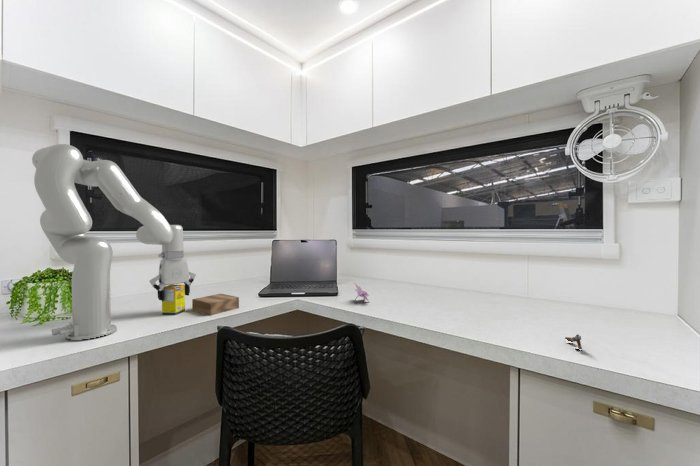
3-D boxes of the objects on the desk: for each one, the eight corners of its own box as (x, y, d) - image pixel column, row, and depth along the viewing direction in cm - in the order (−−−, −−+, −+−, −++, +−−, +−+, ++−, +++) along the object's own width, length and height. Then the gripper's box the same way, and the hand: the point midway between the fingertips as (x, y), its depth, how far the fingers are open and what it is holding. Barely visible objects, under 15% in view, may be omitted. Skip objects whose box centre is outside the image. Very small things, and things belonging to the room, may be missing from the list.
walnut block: (210, 316, 121) (210, 303, 120) (192, 311, 128) (192, 299, 128) (238, 308, 132) (238, 297, 131) (220, 304, 139) (220, 293, 138)
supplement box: (185, 310, 127) (185, 284, 127) (175, 315, 121) (175, 287, 121) (172, 310, 128) (171, 284, 127) (161, 314, 122) (161, 287, 121)
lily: (368, 308, 135) (376, 289, 138) (346, 298, 136) (353, 279, 139) (365, 309, 146) (372, 292, 148) (344, 300, 147) (352, 283, 149)
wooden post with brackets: (578, 351, 85) (575, 333, 87) (566, 352, 93) (564, 336, 94) (586, 352, 85) (583, 334, 86) (574, 353, 92) (571, 337, 94)
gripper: (153, 258, 114) (155, 303, 115) (199, 254, 129) (200, 294, 129) (144, 257, 119) (146, 300, 120) (189, 252, 133) (191, 292, 134)
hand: (174, 297), depth 124 cm, fingers open, 9 cm apart
